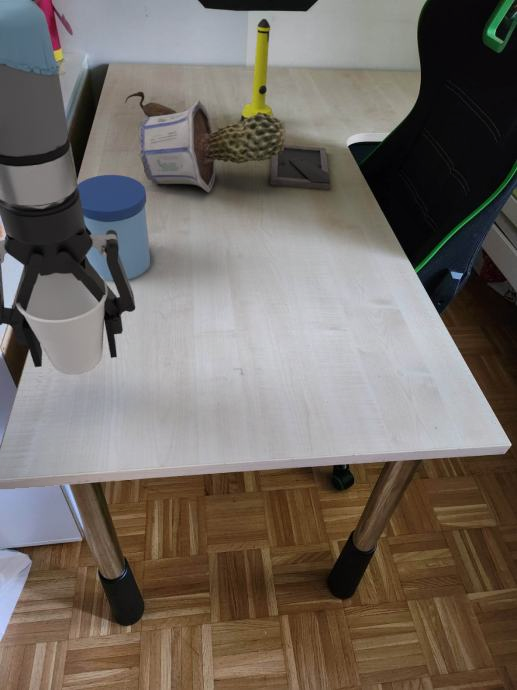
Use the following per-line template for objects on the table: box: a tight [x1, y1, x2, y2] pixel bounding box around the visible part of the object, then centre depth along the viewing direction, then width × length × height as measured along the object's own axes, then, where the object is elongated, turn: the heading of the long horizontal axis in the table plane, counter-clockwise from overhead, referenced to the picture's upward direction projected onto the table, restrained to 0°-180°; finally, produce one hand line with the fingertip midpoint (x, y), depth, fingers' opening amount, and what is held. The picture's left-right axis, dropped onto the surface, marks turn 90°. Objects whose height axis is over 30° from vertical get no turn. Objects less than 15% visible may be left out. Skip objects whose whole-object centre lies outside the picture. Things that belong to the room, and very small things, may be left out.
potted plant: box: [138, 100, 286, 193], centre depth 109 cm, size 18×18×30 cm
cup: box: [14, 273, 108, 376], centre depth 62 cm, size 10×10×11 cm
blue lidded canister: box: [77, 174, 151, 282], centre depth 89 cm, size 12×12×14 cm
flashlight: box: [240, 18, 274, 122], centre depth 130 cm, size 25×9×9 cm
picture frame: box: [270, 144, 331, 191], centre depth 123 cm, size 13×2×18 cm
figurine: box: [125, 91, 178, 118], centre depth 131 cm, size 14×4×9 cm, turn 95°
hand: (76, 354), depth 65 cm, fingers closed on cup, 8 cm apart
